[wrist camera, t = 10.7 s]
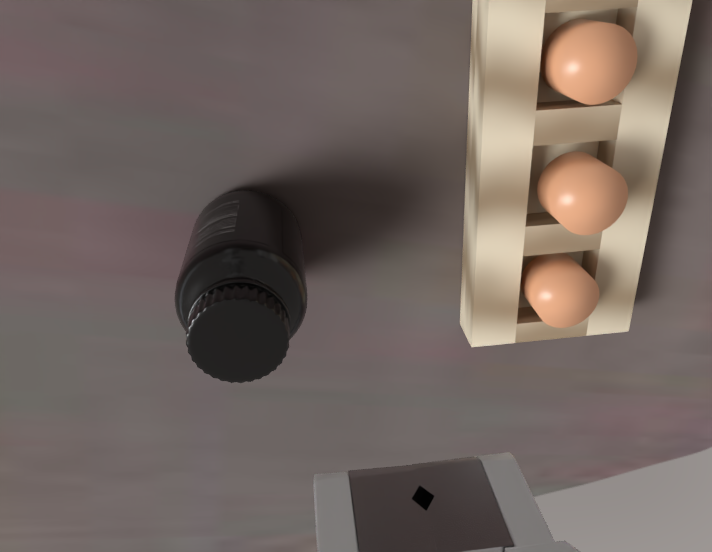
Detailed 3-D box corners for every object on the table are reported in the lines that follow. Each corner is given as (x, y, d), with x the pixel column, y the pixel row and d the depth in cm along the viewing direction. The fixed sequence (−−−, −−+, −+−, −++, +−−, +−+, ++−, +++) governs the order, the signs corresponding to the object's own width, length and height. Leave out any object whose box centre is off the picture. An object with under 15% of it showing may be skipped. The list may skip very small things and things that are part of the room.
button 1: (522, 254, 39) (540, 275, 36) (582, 248, 39) (603, 269, 36) (517, 307, 41) (534, 330, 38) (574, 301, 41) (594, 324, 38)
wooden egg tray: (473, -18, 33) (489, -16, 30) (665, -29, 34) (697, -28, 31) (459, 323, 43) (471, 347, 40) (607, 309, 44) (628, 331, 41)
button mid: (540, 154, 35) (561, 169, 32) (607, 148, 35) (633, 163, 32) (534, 218, 36) (553, 238, 34) (597, 213, 37) (621, 232, 34)
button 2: (543, 21, 32) (566, 25, 30) (614, 16, 33) (643, 20, 30) (536, 96, 34) (557, 107, 32) (604, 91, 35) (630, 102, 32)
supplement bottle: (196, 284, 39) (164, 401, 29) (191, 184, 36) (153, 274, 26) (301, 286, 40) (307, 400, 30) (305, 189, 37) (313, 277, 27)
